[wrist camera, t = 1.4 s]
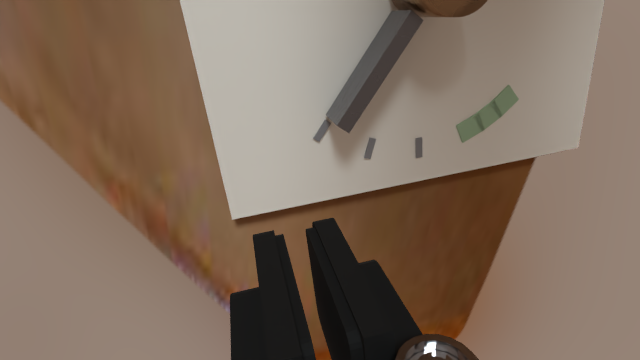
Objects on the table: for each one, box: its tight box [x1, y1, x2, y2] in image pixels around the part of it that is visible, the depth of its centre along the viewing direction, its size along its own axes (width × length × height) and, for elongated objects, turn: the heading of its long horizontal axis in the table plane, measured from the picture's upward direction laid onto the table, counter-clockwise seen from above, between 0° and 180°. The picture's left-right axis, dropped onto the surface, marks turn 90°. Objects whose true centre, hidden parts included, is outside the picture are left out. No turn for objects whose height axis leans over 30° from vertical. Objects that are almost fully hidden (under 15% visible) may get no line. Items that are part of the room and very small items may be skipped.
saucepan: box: [326, 0, 487, 133], centre depth 23 cm, size 13×4×5 cm, turn 147°
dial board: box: [180, 0, 605, 220], centre depth 28 cm, size 18×30×1 cm, turn 97°
